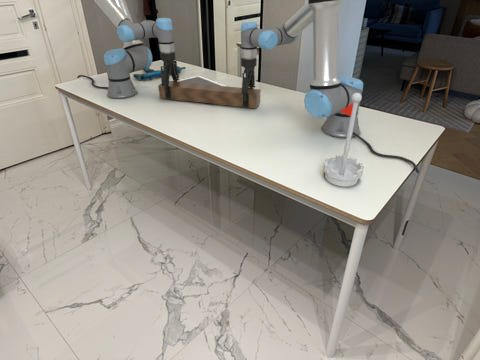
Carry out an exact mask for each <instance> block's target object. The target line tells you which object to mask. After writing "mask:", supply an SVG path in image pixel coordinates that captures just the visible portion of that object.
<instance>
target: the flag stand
mask: <svg viewBox="0 0 480 360" xmlns="http://www.w3.org/2000/svg"><path fill="white" fill-rule="evenodd" d="M362 98H363V96H361V94H360V93H354V94H353V95H352V101H353V103H352V104H351V105H349V106H348V107H346V108H345V109H343V110H342V111H340V112H342V113H344V114H346V115H349V116H350V121H349V127H348V132H347V137H346V138H345V143H344V149H343V154H336V155H335V157H332V156H327V157H326V158H325V161H324V162H323V166H322V169H323V171H324V173H325V174H324V178H325V180H327V182H329V183H330V184H333V185H335V186H338V187H352V186H354V185H357V183H358V182H359V179H360V178H361V177H362V176H363V174H364V168H365V167H364V163H363V162H358V161H357V160H358V159H357V158H355V157H354V156H349V152H350V147H351V142H352V138H353V137H352V132H353V127H354V122H355V117H356V112H357V107H358V102H360V103H361V101H362ZM348 157H349V158H348Z"/></svg>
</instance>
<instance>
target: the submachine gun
mask: <svg viewBox="0 0 480 360" xmlns="http://www.w3.org/2000/svg"><path fill="white" fill-rule="evenodd" d="M177 69H178V74H180V73H181V72H182V71H183V70H186V69H187V68H186V66H183V67H181V66H178V65H177ZM143 72H144V73H133V74H132V77H133V78H134V79H136V80H138V81H145V80H150V81H152V79H153V78H159V77H161V69H160V70H159V69H157V70H155V69H151V67H149V68H147V69H144V70H143ZM170 75H171V73H170Z"/></svg>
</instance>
